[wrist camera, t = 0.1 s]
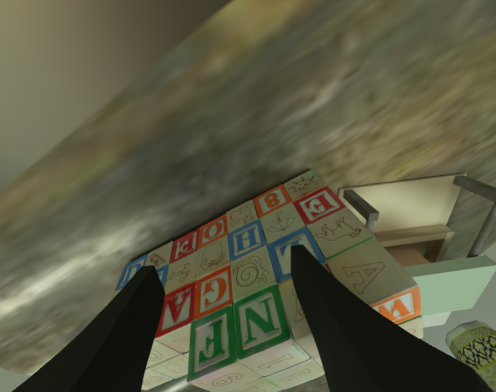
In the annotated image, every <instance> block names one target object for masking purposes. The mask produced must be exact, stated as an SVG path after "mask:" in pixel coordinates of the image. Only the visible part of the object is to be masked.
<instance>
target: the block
mask: <svg viewBox="0 0 496 392" xmlns="http://www.w3.org/2000/svg"><path fill="white" fill-rule="evenodd" d="M384 248H385V249H386V250H387V251H388V252H389V253H390V254H391V256H392V257H393V258H394V259H395V260H396V261H397V262H398V263H399V264H400V265H401V266H402V267H407V266H414V265H421V264H428V263H430V262H429V261H428V260H427V259H425V258H424V257H423V256H422V255H421V254H420V253H419V252H417V251H416V250H415V249H414V248H413V247H412V246H411V245H409V244H403V245H396V246H388V247H384Z"/></svg>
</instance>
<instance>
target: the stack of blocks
mask: <svg viewBox="0 0 496 392" xmlns="http://www.w3.org/2000/svg"><path fill="white" fill-rule="evenodd" d="M301 244H303V245H304V246H305V247H306V248H307V249H308V251H309V252H310V253H311V254H312V255H313V256H314V257H315V258H316V259H317V260H318V261H319V262H320V263H321V264H322V265H323V266H324V267H325V268H326V269H327V270H328V271H329V272H330V273H331V274H332V275H333V276H334V277H335V278H336V279H337V280H339V281H340V282H341V283H342V284H343V285H344V286H345V287H347V288H348V289H349V290H350V291H351V292H353V293H354V294H355V295H356V296H357V297H359V298H360V299H361V300H363V301H364V302H365V303H367V304H368V305H369V306H371V307H372V308H373V309H375V310H376V311H377V312H379V313H380V314H382V315H383V316H385V317H386V318H388V319H389V320H391V321H392V322H394V323H395V324H397V325H398V326H400V327H401V328H403V329H404V330H406V331H408V332H409V333H411V334H412V335H414V336H416V337H418V338H419V339H420V338H422V337H423V317H422V315H421V313H422V308H421V297H420V289H419V285H418V284H417V283H416V281H415V280H414V279H413V278H412V277H411V276H410V275H409V274H408V273H407V272H406V271H405V269H404V268H403V267H402V266H401V265H400V264H399V263H398V262H397V261H396V260H395V259H394V258H393V257H392V256H391V254H390V253H389V252H388V251H387V250H386V249H385V248H384V247H383V246H382V245H381V244H380V243H379V242H378V240H377V238H376V237H375V235H374V234H373V233H372V232H371V231H370V230H369V229H368V228H366V226H365V224H363V223H362V222H361V221H360V220H359V219H358V217H357V216H356V215H355V214H354V213H353V212H352V211H351V210H350V209H349V208H347V206H346V205H345V204H344V203H343V202H342V201H341V200H340V199H339V198H338V197H337V196H336V195H335V194H334V193H333V192H332V190H331V189H330V188H329V187H327V185H326V184H325V182H324V181H323V180H322V179H321V178H320V177H319V176H318V175H317V174H316V173H315V172H314V171H313V170H310V171H308V172H306V173H304V174H302V175H300V176H298V177H296V178H294V179H292V180H290V181H288V182H286V183H285V184H281V185H279V186H277V187H275V188H273V189H271V190H269V191H267V192H265V193H263V194H261V195H259V196H257V197H256V198H254V199H252V200H249V201H247V202H245V203H243V204H242V205H240V206H238V207H236V208H234V209H232V210H230V211H228V212H226V214H225V215H223V216H220V217H219V218H217V219H215V220H213V221H211V222H209V223H207V224H205V225H203V226H201V227H200V228H199V229H196V230H195V231H192V232H190V233H188V234H186V235H185V236H183V237H181V238H179V239H177V240H176V241H171V242H169V243H168V244H166V245H164V246H162V247H160V248H158V249H156V250H154V251H152V252H150V253H149V254H146V255H144V256H142V257H140V258H138V259H137V260H135V261H133V262H131V263H129V264H127V265H126V266H125V268H124V270H123V273H122V275H121V277H120V280H119V282H118V284H117V287H116V289H115V292H114V294H113V296H112V298H111V301H112V299H113V298H114V297H115V296H116V295H117V294H118V293H119V292H120V291H121V289H122V288H123V287H124V286H125V285H126V284H127V283H128V282H129V280H130V279H131V278H132V277H133V276H134V275H135V274H136V272H137V271H138V270H139V269H140V268H141V267H142V266H149V265H154V266H155V268H156V271H157V273H158V276H159V278H160V280H161V283H162V285H163V288H164V290H165V298H164V304H163V310H162V315H161V318H160V322H159V325H158V329H157V332H156V335H155V339H154V342H153V346H152V349H151V352H150V356H149V359H148V362H147V366H146V370H145V374H144V378H143V383H142V388H141V389H143V390H149V389H151V388H153V387H155V386H158V385H160V384H163V383H165V382H168V381H170V380H172V379H173V378H174V379H176V378H179V377H181V376H184V375H186V374H188V377H187V382H188V383H190V384H192V385H194V386H197V387H200V388H203V389H205V390H208V391H211V392H279V391H281V390H283V389H287V388H290V387H293V386H296V385H299V384H302V383H304V382H307V381H309V380H312V379H315V378H317V377H320V376H322V375H323V374H325V372H324V369H323V366H322V362H321V359H320V356H319V352H318V349H317V346H316V343H315V341H314V338H313V335H312V333H311V330H310V328H309V325H308V323H307V320H306V318H305V315H304V313H303V310H302V308H301V305H300V302H299V300H298V297H297V295H296V292H295V288H294V285H293V281H292V277H291V246H293V245H301ZM111 301H110V302H111Z"/></svg>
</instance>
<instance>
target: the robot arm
mask: <svg viewBox="0 0 496 392" xmlns="http://www.w3.org/2000/svg"><path fill="white" fill-rule="evenodd" d="M291 277H292V281H293V285H294V288H295V292H296V295H297V297H298V300H299V302H300V305H301V308H302V310H303V313H304V315H305V318H306V320H307V323H308V325H309V328H310V330H311V333H312V335H313V338H314V341H315V343H316V346H317V349H318V352H319V356H320V359H321V362H322V366H323V369H324V372H325V376H326V379H327V383H328V386H329V389H330V392H494V391H493V390H492V389H491V388H490V387H489V385H488V384H487V383H486V382H485V381H484V380H483V379H482V378H481V377H480V376H479V374H478V373H477V372H476V371H475V370H474V369H473V368H472V367H470V366H468V365H466V364H464V363H463V362H461V361H459V360H457V359H455V358H453V357H451V356H449V355H448V354H446V353H444V352H442V351H440V350H438V349H437V348H435V347H433V346H431V345H429V344H428V343H426V342H424V341H423V340H421V339H419V338H418V337H416V336H414V335H412V334H411V333H409V332H408V331H406V330H404V329H403V328H401V327H400V326H398V325H397V324H395V323H394V322H392V321H391V320H389V319H388V318H386V317H385V316H383V315H382V314H380V313H379V312H377V311H376V310H375V309H373V308H372V307H371V306H369V305H368V304H367V303H365V302H364V301H363V300H361V299H360V298H359V297H357V296H356V295H355V294H354V293H353V292H351V291H350V290H349V289H348V288H347V287H345V286H344V285H343V284H342V283H341V282H340V281H339V280H337V279H336V278H335V277H334V276H333V275H332V274H331V273H330V272H329V271H328V270H327V269H326V268H325V267H324V266H323V265H322V264H321V263H320V262H319V261H318V260H317V259H316V258H315V257H314V256H313V255H312V254H311V253H310V252H309V251H308V249H307V248H306V247H305V246H304V245H303V244H301V245H293V246H291ZM164 298H165V290H164V288H163V285H162V283H161V280H160V278H159V276H158V273H157V271H156V268H155V266H154V265H149V266H142V267H141V268H140V269H139V270H138V271H137V272H136V274H135V275H134V276H133V277H132V278H131V279H130V280H129V282H128V283H127V284H126V285H125V286H124V287H123V288H122V289H121V291H120V292H119V293H118V294H117V295H116V296H115V297H114V298H113V299H112V301H111V302H110V303H109V304H108V305H107V306H106V307H105V308H104V309H103V310H102V311H101V312H100V313H99V314H98V315H97V316H96V317H95V318H94V320H93V321H92V322H91V323H90V324H89V325H88V326H87V327H86V328H85V329H84V330H83V331H82V332H81V333H80V334H79V335H77V336H76V337H75V338H74V339H73V340H72V341H71V342H70V343H69V344H68V345H67V346H66V347H65V348H63V349H62V350H61V351H60V352H59V353H58V354H57V355H56V356H54V357H53V358H52V359H51V360H50V361H49V362H47V363H46V364H45V365H44V366H43V367H41V368H40V369H39V370H38V371H37V372H36V373H34V374H33V375H32V376H31V377H30V378H28V379H27V380H26V381H25V382H24V383H22V384H21V385H20V386H18V387H17V388H16V389H15V390H13V391H12V392H141V388H142V383H143V378H144V374H145V370H146V366H147V362H148V359H149V356H150V352H151V349H152V346H153V342H154V339H155V335H156V332H157V329H158V325H159V322H160V318H161V315H162V310H163V304H164Z"/></svg>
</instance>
